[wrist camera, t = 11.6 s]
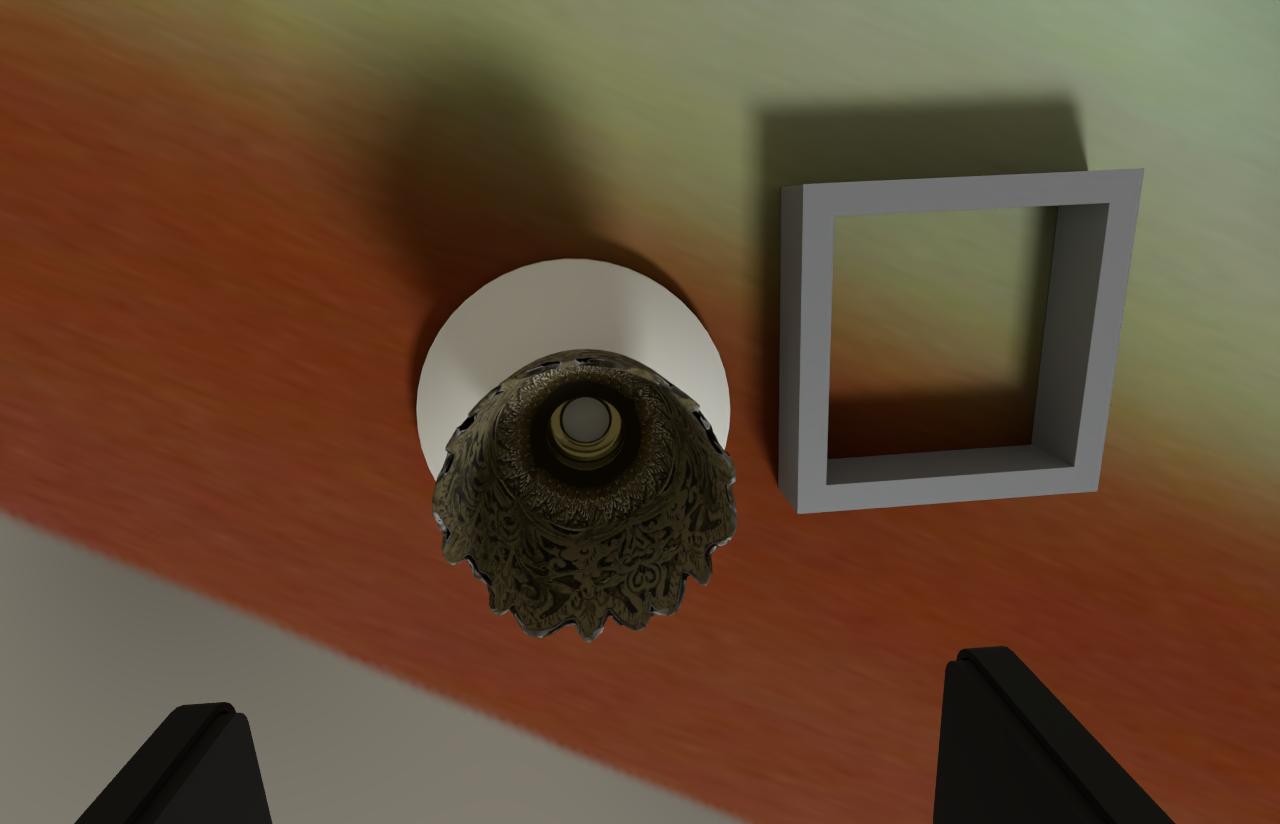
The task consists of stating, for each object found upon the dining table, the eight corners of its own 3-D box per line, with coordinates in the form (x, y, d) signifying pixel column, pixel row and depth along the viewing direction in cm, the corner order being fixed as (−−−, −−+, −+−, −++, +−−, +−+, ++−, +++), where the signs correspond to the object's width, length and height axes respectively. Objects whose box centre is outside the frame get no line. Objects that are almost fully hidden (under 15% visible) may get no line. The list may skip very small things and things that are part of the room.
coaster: (723, 250, 24) (728, 251, 24) (727, 538, 27) (731, 547, 27) (401, 266, 24) (395, 268, 23) (441, 560, 27) (437, 571, 26)
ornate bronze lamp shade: (436, 383, 24) (367, 464, 16) (621, 272, 23) (640, 301, 16) (553, 550, 26) (541, 692, 18) (725, 451, 25) (787, 554, 18)
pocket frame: (1089, 172, 25) (1144, 168, 22) (1052, 466, 28) (1097, 491, 25) (781, 186, 24) (803, 184, 21) (778, 487, 27) (797, 513, 25)
